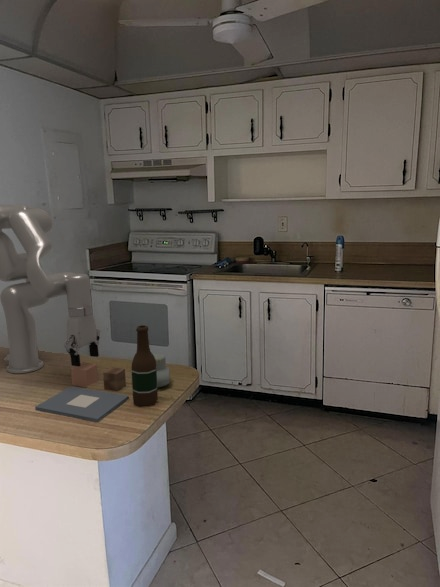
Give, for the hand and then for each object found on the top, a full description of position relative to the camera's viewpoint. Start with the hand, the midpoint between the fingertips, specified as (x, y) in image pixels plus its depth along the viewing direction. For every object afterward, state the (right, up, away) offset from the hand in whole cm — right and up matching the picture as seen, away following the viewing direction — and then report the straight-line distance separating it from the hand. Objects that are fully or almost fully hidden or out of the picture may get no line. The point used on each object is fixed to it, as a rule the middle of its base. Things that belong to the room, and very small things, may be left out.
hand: (85, 360), depth 149 cm
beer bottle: (+22, -11, -13) cm, 28 cm away
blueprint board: (+4, -11, -14) cm, 18 cm away
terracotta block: (-1, -8, +2) cm, 8 cm away
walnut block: (+11, -9, -2) cm, 14 cm away
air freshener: (+24, -8, 0) cm, 26 cm away
